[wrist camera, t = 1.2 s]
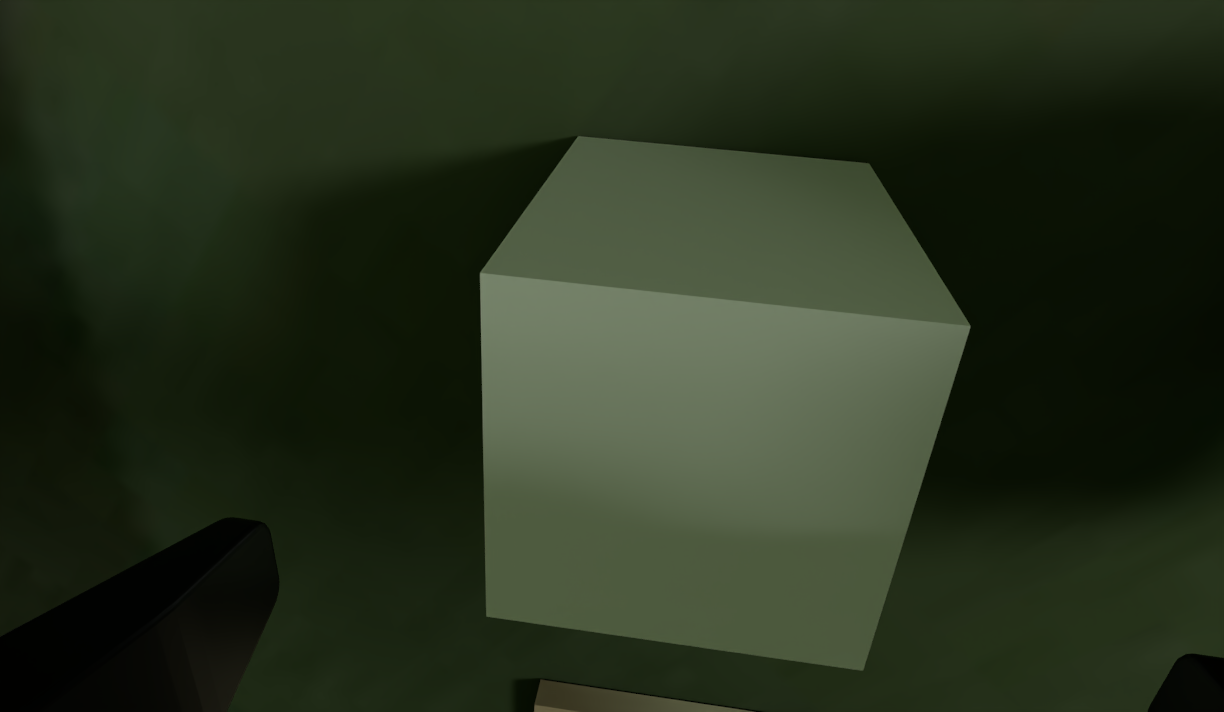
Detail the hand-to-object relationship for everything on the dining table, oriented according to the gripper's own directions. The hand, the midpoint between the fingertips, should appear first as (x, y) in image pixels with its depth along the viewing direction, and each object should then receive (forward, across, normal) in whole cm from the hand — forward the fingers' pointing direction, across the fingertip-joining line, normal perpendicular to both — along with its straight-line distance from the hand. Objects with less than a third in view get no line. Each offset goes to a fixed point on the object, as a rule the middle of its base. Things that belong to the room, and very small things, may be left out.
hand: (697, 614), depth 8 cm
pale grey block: (+9, 0, 0) cm, 9 cm away
